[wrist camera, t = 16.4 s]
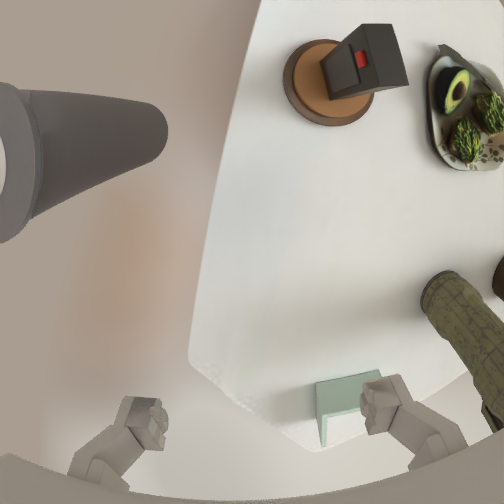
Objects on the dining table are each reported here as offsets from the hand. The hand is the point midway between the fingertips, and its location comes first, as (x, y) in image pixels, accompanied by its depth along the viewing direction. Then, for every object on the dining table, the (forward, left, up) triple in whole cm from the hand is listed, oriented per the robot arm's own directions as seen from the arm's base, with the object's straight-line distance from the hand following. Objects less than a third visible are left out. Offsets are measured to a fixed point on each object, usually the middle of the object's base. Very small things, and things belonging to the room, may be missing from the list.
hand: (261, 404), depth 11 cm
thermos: (+32, -10, -29) cm, 44 cm away
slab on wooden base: (+7, +17, -27) cm, 33 cm away
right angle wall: (+21, -34, -29) cm, 50 cm away
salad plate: (+28, +19, -29) cm, 44 cm away
